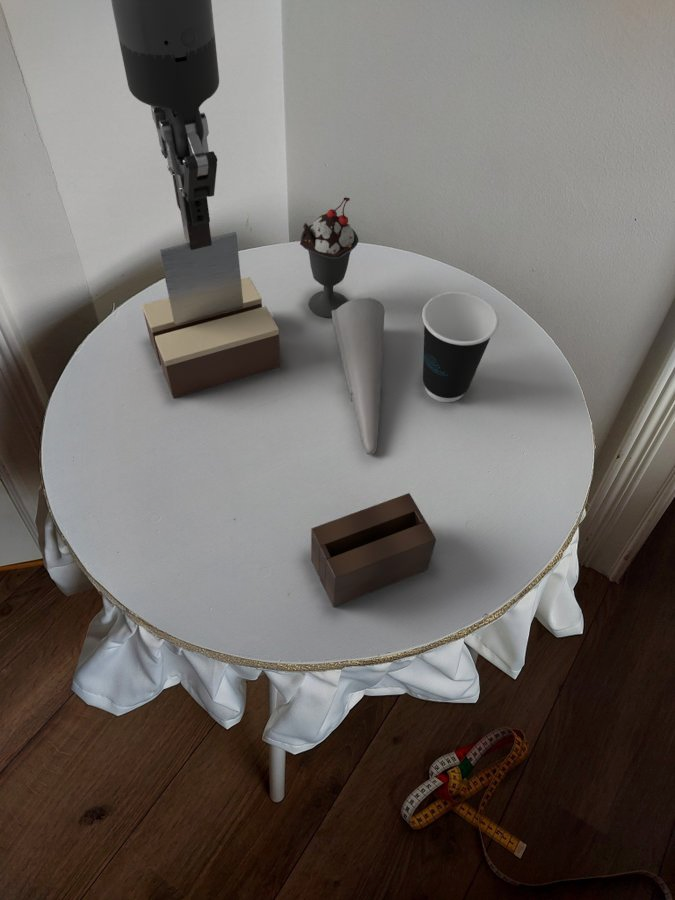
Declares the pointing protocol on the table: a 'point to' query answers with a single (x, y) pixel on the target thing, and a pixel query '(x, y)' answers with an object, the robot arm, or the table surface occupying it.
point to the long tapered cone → (362, 361)
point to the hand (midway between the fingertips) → (194, 215)
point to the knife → (202, 273)
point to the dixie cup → (454, 342)
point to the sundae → (328, 257)
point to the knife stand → (371, 549)
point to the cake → (213, 343)
